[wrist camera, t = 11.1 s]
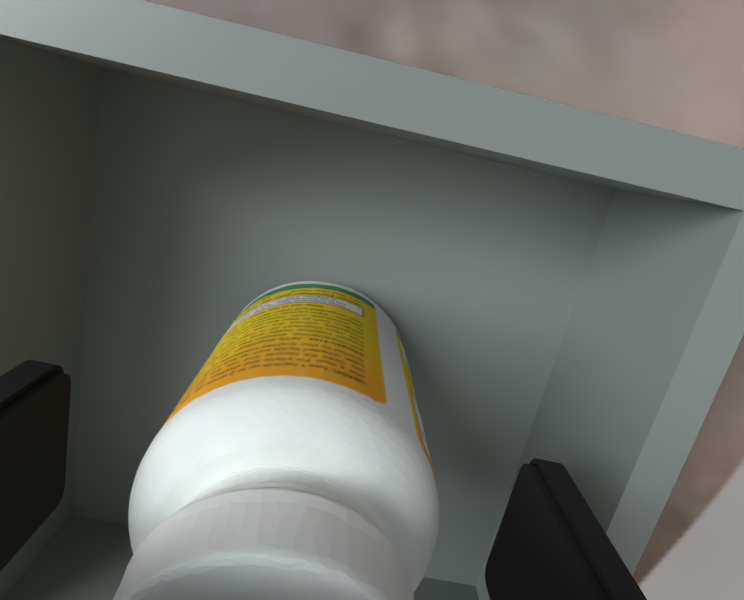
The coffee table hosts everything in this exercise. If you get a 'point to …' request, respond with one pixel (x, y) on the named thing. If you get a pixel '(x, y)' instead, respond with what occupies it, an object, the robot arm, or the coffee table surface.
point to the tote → (353, 263)
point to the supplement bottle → (289, 463)
